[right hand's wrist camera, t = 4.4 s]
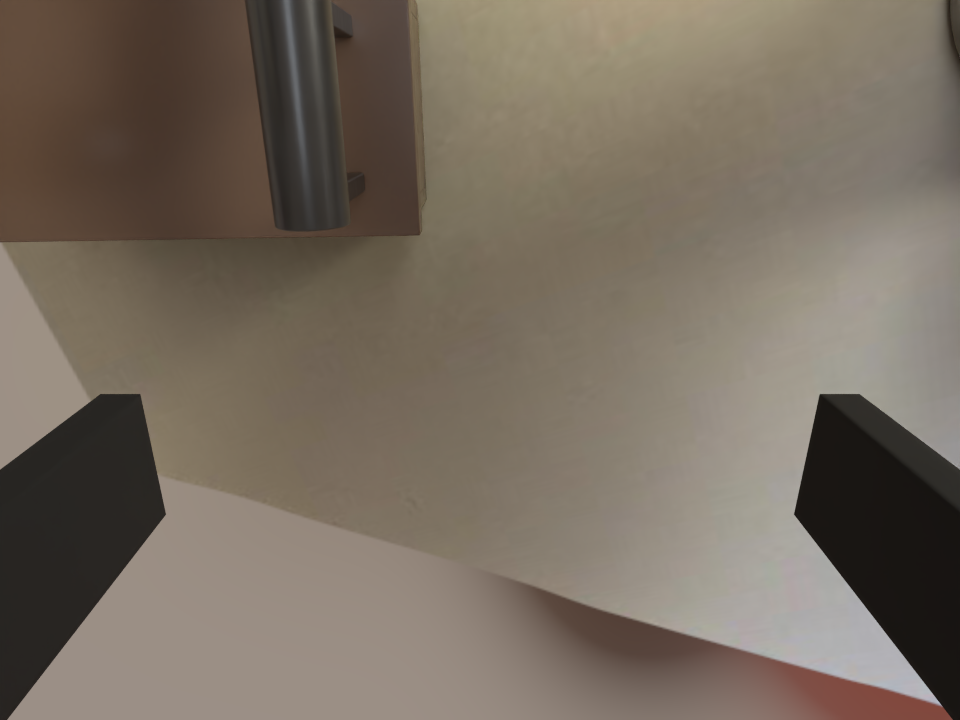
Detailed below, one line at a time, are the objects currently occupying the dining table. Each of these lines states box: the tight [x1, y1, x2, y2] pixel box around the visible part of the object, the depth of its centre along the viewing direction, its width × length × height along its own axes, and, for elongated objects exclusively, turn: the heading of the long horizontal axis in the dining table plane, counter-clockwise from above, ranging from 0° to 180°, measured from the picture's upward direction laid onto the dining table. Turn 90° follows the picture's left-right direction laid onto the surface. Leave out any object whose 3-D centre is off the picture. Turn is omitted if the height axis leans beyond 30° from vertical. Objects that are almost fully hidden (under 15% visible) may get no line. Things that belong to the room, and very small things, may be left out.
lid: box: [0, 0, 422, 242], centre depth 20 cm, size 18×10×9 cm, turn 91°
